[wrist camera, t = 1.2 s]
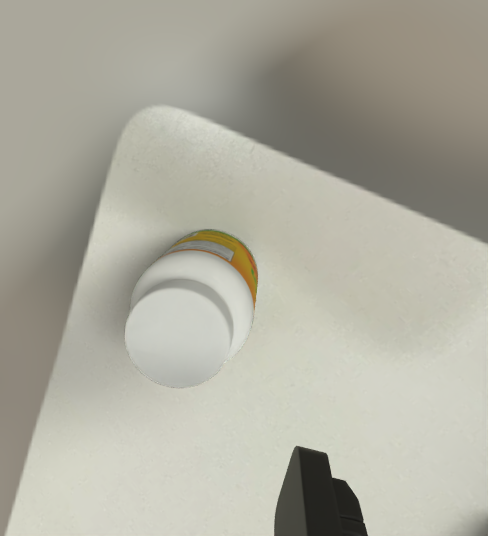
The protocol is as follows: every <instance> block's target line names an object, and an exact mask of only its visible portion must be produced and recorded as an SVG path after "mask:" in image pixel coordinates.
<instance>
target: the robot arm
mask: <svg viewBox="0 0 488 536" xmlns="http://www.w3.org/2000/svg"><path fill="white" fill-rule="evenodd" d="M363 520H364V519H363V516H362V512H361V508H360V504H359V501H358V499H357V497H356V496H355V494H354V493H353V491H352V490H351V488H350V487H349V486H348V484H347V483H346V481H344V480H340V479H336V478H332V475H331V470H330V465H329V460H328V456H327V454H326V453H324V452H320V451H316V450H312V449H308V448H304V447H300V446H296V447H295V448H294V450H293V453H292V456H291V459H290V462H289V466H288V469H287V472H286V475H285V479H284V482H283V485H282V488H281V491H280V495H279V498H278V502H277V507H276V513H275V524H274V536H368V535H367V531H366V527H365V523H363Z"/></svg>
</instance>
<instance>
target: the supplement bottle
mask: <svg viewBox="0 0 488 536" xmlns="http://www.w3.org/2000/svg"><path fill="white" fill-rule="evenodd" d="M257 284H258V271H257V265H256V262H255V259H254V257H253V255H252V253H251V251H250V250H249V249H248V247H247V246H246V245H245V244H244V243H243V242H242V241H241V240H239V239H238V238H237V237H235V236H233V235H231V234H229V233H226V232H223V231H220V230H212V229H210V230H201V231H197V232H194V233H191V234H189V235H187V236H185V237H184V238H182V239H181V240H180V241H178V242H177V243H176V244H175V245H173V246H172V247H171V248H170V249H169V250H168V251H166V252H165V253H164V254H163V255H162V256H161V257H159V258H158V259H157V260H156V261H155V262H154V263H152V264H151V265H150V266H149V267H148V268H147V269H146V270H145V272H144V273H143V274H142V275H141V277H140V278H139V280H138V281H137V283H136V285H135V288H134V290H133V293H132V297H131V302H130V313H129V315H128V318H127V321H126V324H125V330H124V340H125V346H126V349H127V352H128V355H129V357H130V359H131V361H132V362H133V364H134V365H135V366H136V368H137V369H138V370H139V371H140V372H141V373H142V374H143V375H145V376H146V377H147V378H149V379H150V380H152V381H154V382H156V383H158V384H161V385H164V386H167V387H173V388H188V387H193V386H197V385H199V384H202V383H204V382H206V381H208V380H209V379H211V378H212V377H213V376H215V375H216V374H217V373H218V372H219V370H220V369H221V368H222V367H223V365H224V363H225V362H226V361H228V360H229V359H231V358H232V357H233V356H234V355H235V354H236V353H237V352H238V351H239V350H240V349H241V348H242V346H243V345H244V343H245V342H246V340H247V338H248V336H249V333H250V330H251V327H252V323H253V317H254V309H255V302H256V293H257Z"/></svg>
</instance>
